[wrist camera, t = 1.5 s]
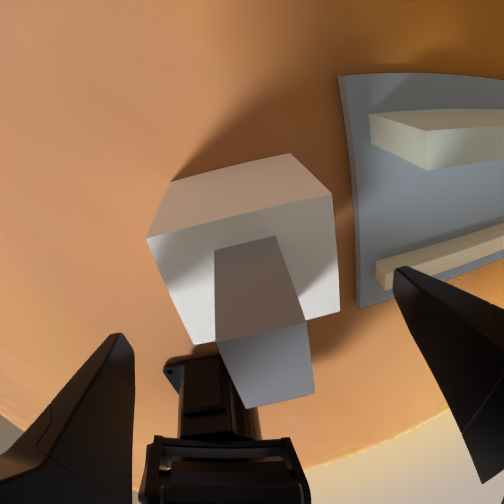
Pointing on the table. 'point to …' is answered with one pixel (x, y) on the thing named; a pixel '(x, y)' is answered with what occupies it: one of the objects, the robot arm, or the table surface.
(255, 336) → the block with grey handle
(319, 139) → the table surface
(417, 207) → the cleat board
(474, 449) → the robot arm
